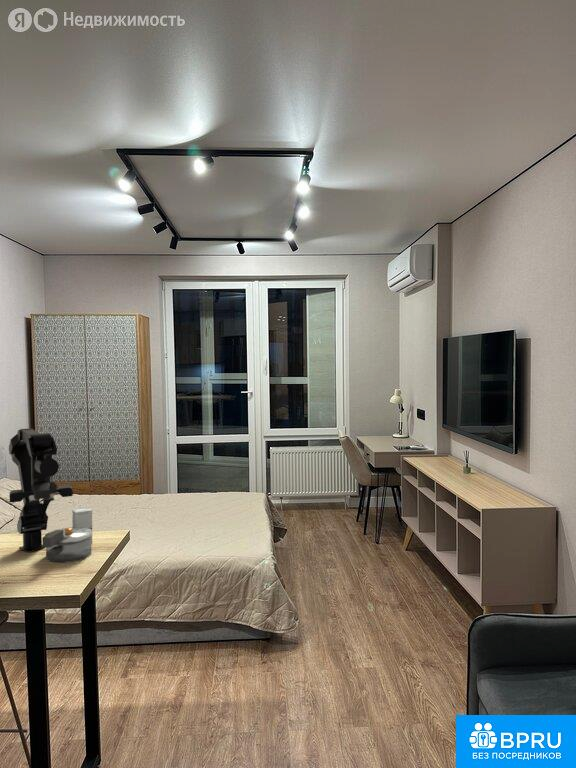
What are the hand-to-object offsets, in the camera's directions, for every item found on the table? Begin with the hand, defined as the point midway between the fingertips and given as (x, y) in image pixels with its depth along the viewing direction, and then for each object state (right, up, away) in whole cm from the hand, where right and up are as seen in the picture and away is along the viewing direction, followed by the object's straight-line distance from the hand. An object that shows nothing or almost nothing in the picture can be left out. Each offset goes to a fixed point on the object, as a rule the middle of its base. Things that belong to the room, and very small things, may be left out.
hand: (42, 519), depth 186 cm
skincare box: (+7, -13, +16) cm, 22 cm away
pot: (+7, -13, +1) cm, 15 cm away
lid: (+7, -7, 0) cm, 10 cm away
